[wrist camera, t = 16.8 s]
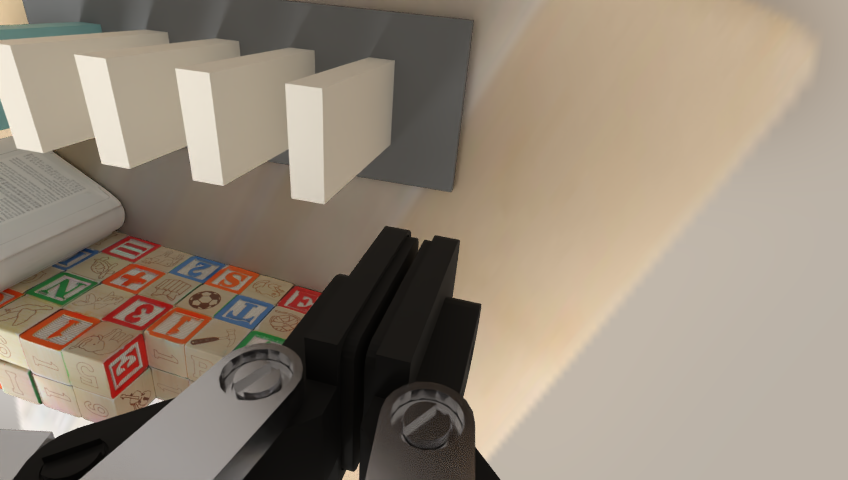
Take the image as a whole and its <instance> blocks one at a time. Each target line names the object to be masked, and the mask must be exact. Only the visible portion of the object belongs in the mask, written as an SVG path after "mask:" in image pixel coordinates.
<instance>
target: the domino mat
mask: <svg viewBox="0 0 848 480" xmlns="http://www.w3.org/2000/svg"><path fill="white" fill-rule="evenodd" d="M22 1H23V5H24V8H25V12H26V15H27V19H28V22H29V24H44V23H66V22H85V23H93V24H100V25H101V29H102V33H105V32H119V31H133V30H153V31H161V32H168V37H169V43H178V42H187V41H196V40H205V39H214V38H218V39H226V40H234V41H239V46H240V56H245V55H251V54H257V53H262V52H268V51H273V50H279V49H284V48H298V49H306V50H315V74H317V73H320V72H323V71H326V70H329V69H333V68H336V67H339V66H342V65H345V64H349V63H352V62H355V61H358V60H361V59H365V58H368V57H371V58H379V59H387V60H395V68H394V87H393V107H392V126H391V145H389V146H388V147H387V148H386V149H385V150H384V151H383V152H382V153H381V154H379V155H378V156H377V157H376V158H375V159H374V160H373V161H372V162H371V163H370V164H368V165H367V166H366V167H365V168H364V169H363V170H362V171H361V172H360V173H358V174H357V175H356V176H358V177H364V178H370V179H376V180H382V181H388V182H394V183H399V184H405V185H411V186H417V187H423V188H429V189H435V190H441V191H447V192H452V190H453V185H454V177H455V169H456V161H457V152H458V144H459V136H460V128H461V120H462V111H463V103H464V95H465V87H466V79H467V71H468V62H469V54H470V46H471V38H472V30H473V22H474V20H467V19H457V18H448V17H439V16H429V15H420V14H410V13H401V12H391V11H382V10H372V9H363V8H353V7H344V6H335V5H325V4H316V3H306V2H297V1H287V0H22ZM186 147H187V146H186ZM187 148H188V147H187ZM268 161H269V162H275V163H281V164H287V165H289V149H288V150H286V151H284V152H282V153H281V154H279V155H277V156H275V157H274V158H272V159H270V160H268Z"/></svg>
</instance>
